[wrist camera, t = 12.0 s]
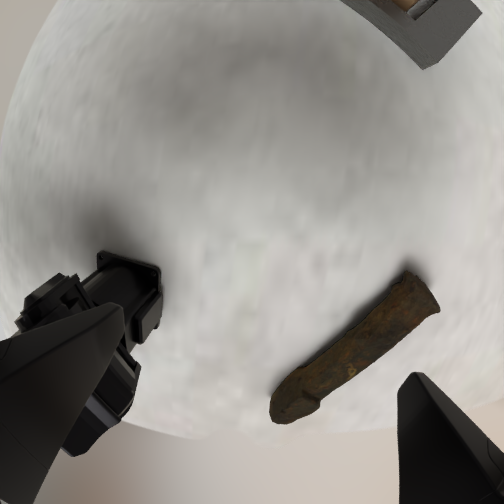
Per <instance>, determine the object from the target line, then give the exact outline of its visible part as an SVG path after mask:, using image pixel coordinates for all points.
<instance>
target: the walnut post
mask: <svg viewBox="0 0 504 504" xmlns="http://www.w3.org/2000/svg"><path fill="white" fill-rule="evenodd" d="M391 1H392V2H394V3H395V4H396V5H397V6H399V7H400V8H401V9H402V10H403V11H405V12H407V11H408V10H409V9H410V8H411V7H413V6H414V5H415V4H416V3H417V2H418V1H420V0H391Z"/></svg>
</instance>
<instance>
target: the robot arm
mask: <svg viewBox="0 0 504 504" xmlns="http://www.w3.org/2000/svg"><path fill="white" fill-rule="evenodd" d="M101 256H102V257H103V258H102V257H101ZM153 271H154V272H155V273H156V275H155V274H154V273H153ZM79 280H80V278H79V277H78V275H77V273H76V274H74V275H73V276H71V277H69V276H64V275H62V274H61V273H58V274H57V275H55V276H54V277H52V278H51V279H50V280H48V281H47V282H46V283H44V284H43V285H41V286H40V287H39V288H37V289H36V290H35V291H33V292H32V293H31V294H30V295H28V296H27V297H26V298H25V300H24V309H23V310H22V311H21V312H20V314H21V315H20V316H19V317H18V318H17V319H16V320H15V324H16V325H17V327H18V328H19V330H18V331H17V332H16V333H15V334H14V335H13V336H11V337H10V338H8V339H5V340H3V341H0V500H3V501H5V502H6V503H8V504H33V502H34V500H35V498H36V496H37V494H38V492H39V489H40V487H41V485H42V483H43V481H44V479H45V477H46V475H47V473H48V470H49V469H50V467H51V465H52V463H53V461H54V459H55V457H56V455H57V454H58V451H59V450H60V448H61V449H62V450H63V451H65V452H66V453H67V454H68V455H70V456H71V457H75V456H78V455H81V454H84V453H86V452H87V451H88V450H89V449H90V447H91V446H92V445H93V444H94V443H95V442H96V440H97V439H98V438H99V437H100V436H101V435H102V434H103V433H105V432H106V431H107V430H108V429H109V428H111V427H113V426H114V425H116V424H118V423H119V422H120V421H121V418H122V417H123V416H125V415H126V413H127V412H128V411H129V409H130V407H131V406H132V403H133V400H134V396H135V391H136V387H137V383H138V379H139V375H140V371H141V366H140V364H139V363H138V362H137V361H135V360H134V359H133V357H132V356H131V355H130V352H131V351H132V349H133V348H134V347H135V345H136V344H137V343H138V344H140V345H141V344H143V343H144V342H145V340H146V339H147V337H148V336H149V334H150V333H151V331H152V330H153V329H157V328H158V327H159V320H160V318H161V317H162V293H161V292H160V280H161V272H160V270H159V269H158V268H157V267H155V266H151V265H148V264H145V263H141V262H138V261H134V260H131V259H128V258H124V257H121V256H118V255H115V254H111V253H108V252H105V251H100V252H99V253H97V270H96V271H95V272H93V273H92V274H91V275H90V276H88V277H87V278H86V279H84V280H83V281H82V282H80V281H79ZM397 407H398V420H397V434H398V435H397V436H398V454H399V504H504V453H503V452H502V451H501V450H500V449H499V448H498V447H497V446H496V445H495V444H494V443H493V442H492V441H491V440H490V439H489V438H488V437H487V436H486V435H485V434H484V433H483V432H482V430H481V429H480V428H479V427H478V426H477V425H476V424H475V423H474V422H473V421H472V420H471V419H470V418H469V417H468V416H467V415H466V414H465V413H464V412H463V411H462V410H461V409H460V408H459V407H458V406H457V405H456V404H455V403H454V402H453V401H452V400H451V399H450V398H449V397H448V396H447V395H446V394H445V393H444V392H443V391H442V390H441V389H440V388H439V387H438V386H437V385H436V384H435V383H434V382H432V381H431V380H430V379H429V378H428V377H427V376H426V375H425V374H424V373H422V372H412V373H411V374H410V375H409V376H408V378H407V379H406V380H405V382H404V383H403V384H402V385H401V387H400V388H399V390H398V394H397ZM0 504H1V501H0Z"/></svg>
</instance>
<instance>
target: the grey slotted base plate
mask: <svg viewBox="0 0 504 504" xmlns="http://www.w3.org/2000/svg"><path fill="white" fill-rule="evenodd" d="M341 1H342V2H344V3H345V4H346V5H348V6H349V7H351V8H352V9H354V10H355V11H356V12H358V13H359V14H360V15H362V16H363V17H364V18H366V19H367V20H368V21H370V22H371V23H372V24H373V25H375V26H376V27H377V28H378V29H380V30H381V31H382V32H383V33H384V34H386V35H387V36H388V37H389V38H390V39H391V40H392V41H394V42H395V43H396V44H397V45H398V46H399V47H400V48H401V49H402V50H403V51H404V52H405V53H406V54H407V55H409V56H410V57H411V58H412V59H413V60H414V61H415V62H416V64H417V65H418V66H419V67H420V68H421V69H422V70H424V69H426V68H428V67H430V66H432V65H434V64H436V63H438V62H439V61H440V60H441V59H442V58H443V57H444V56H445V55H446V53H447V52H448V51H449V50H450V49H451V48H452V47H453V46H454V44H455V43H456V42H457V41H458V40H459V39H460V38H461V37H462V36H463V34H464V33H465V32H466V31H467V30H468V29H469V28H470V27H471V25H472V24H473V23H474V22H475V21H476V20H477V19H478V18H479V16H480V15H481V14H482V12H481V11H480V10H479V9H478V7H477V6H476V5H475V4H474V3H473V2H472V1H471V0H436V1H437V2H436V3H434V4H433V5H432V6H431V7H430V8H429V9H428V10H427V11H425V12H424V13H423V14H422V15H421V16H420V17H419V18H418V19H417V20H416V21H415V20H414V19H413V18H412V17H410V16H409V15H408V14H407V13H406V12H405V11H403V10H402V9H401V8H400V7H399V6H397V5H396V4H395V3H394V2H392V1H391V0H341Z"/></svg>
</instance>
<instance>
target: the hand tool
mask: <svg viewBox="0 0 504 504" xmlns="http://www.w3.org/2000/svg"><path fill="white" fill-rule="evenodd" d="M439 312H440V306H439V305H438V303H437V301H436V299H435V298H434V296H433V294H432V293H431V291H430V290H429V289H428V288H427V286H426V285H425V283H424V282H423V281H421V280H420V279H419V278H418V277H417V276H415V275H413V274H412V273H410V272H408V271H405V272H404V276H403V281H402V282H401V283H397V284H394V285H393V286H392V290H391V293H390V294H389V295H388V296H387V297H386V298H385V299H384V301H383V302H382V303H381V304H379V305H378V306H377V307H376V308H375V309H373V311H372V312H371V313H370V314H369V315H368V316H367V317H366V318H365V319H364V320H363V321H362V322H361V323H359V324H358V325H357V326H356V327H355V328H354V329H352V330H350V331H347V333H346V335H345V336H344V337H343V338H342V339H340V340H339V341H338V342H336V343H335V344H334V345H333V346H332V347H331V348H330V349H329V350H327V351H326V352H325V353H324V354H322V355H321V356H320V357H318V358H317V359H316V360H315V361H313V362H312V363H311V364H309V365H308V366H307V367H298V368H297V369H296V370H294V371H293V372H292V373H291V374H290V375H289V376H288V377H287V378H286V379H285V380H284V381H283V382H282V384H281V385H280V386H279V387H278V388H277V390H276V391H275V393H274V394H273V395H272V397H271V400H270V409H269V413H270V417H271V420H272V422H275V423H276V424H286V425H287V424H289V423H292V422H294V421H296V420H297V419H300V418H302V417H305V416H308V415H310V414H312V413H313V412H315V411H316V410H317V409H319V407H320V401H321V400H322V399H323V398H325V397H326V396H327V395H329V394H330V393H331V392H332V391H334V390H335V389H336V388H338V387H340V386H342V385H343V384H345V383H346V382H348V381H349V380H350V379H352V378H353V377H355V376H356V375H357V374H359V373H360V372H361V371H363V370H364V369H366V368H367V367H368V366H369V365H371V364H372V363H373V362H375V361H376V360H377V359H379V358H380V357H381V356H383V355H384V354H385V353H386V352H388V351H389V350H390V349H392V348H393V347H394V346H395V345H396V344H397V343H398V342H400V341H401V340H402V339H403V338H404V337H406V335H408V334H409V333H410V332H411V331H412V330H413V329H414V328H416V327H417V326H418V325H420V323H421V322H422V321H423V320H424V319H425V318H427V317H428V316H430V315H432V314H435V313H439Z"/></svg>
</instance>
